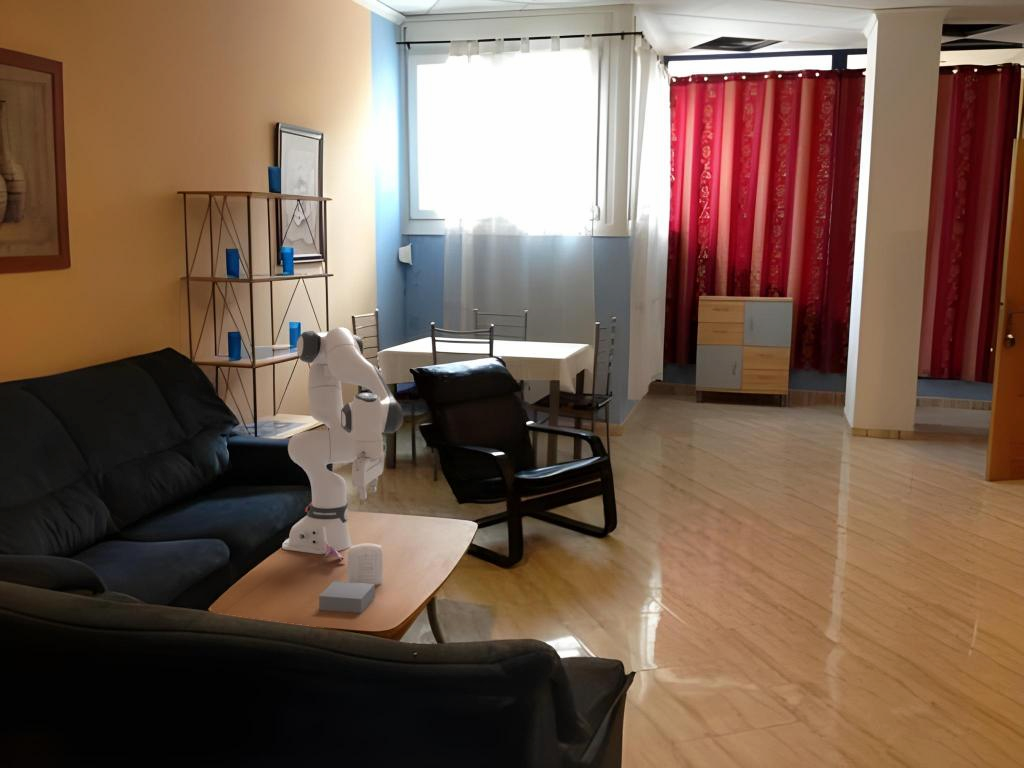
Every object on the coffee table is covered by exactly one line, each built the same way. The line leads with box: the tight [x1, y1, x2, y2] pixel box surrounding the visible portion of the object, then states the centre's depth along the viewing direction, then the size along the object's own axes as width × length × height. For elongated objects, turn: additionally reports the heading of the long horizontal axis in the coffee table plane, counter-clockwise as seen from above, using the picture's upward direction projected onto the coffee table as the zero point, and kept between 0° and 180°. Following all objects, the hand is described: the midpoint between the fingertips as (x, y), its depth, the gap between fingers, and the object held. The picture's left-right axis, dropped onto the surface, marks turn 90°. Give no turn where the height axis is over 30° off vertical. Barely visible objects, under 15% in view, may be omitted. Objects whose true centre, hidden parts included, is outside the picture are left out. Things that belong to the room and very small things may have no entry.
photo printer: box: [347, 542, 384, 586], centre depth 270 cm, size 10×4×12 cm, turn 103°
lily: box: [320, 534, 346, 565], centre depth 287 cm, size 12×12×10 cm
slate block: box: [318, 580, 376, 614], centre depth 255 cm, size 12×12×4 cm
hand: (368, 495), depth 268 cm, fingers open, 8 cm apart
